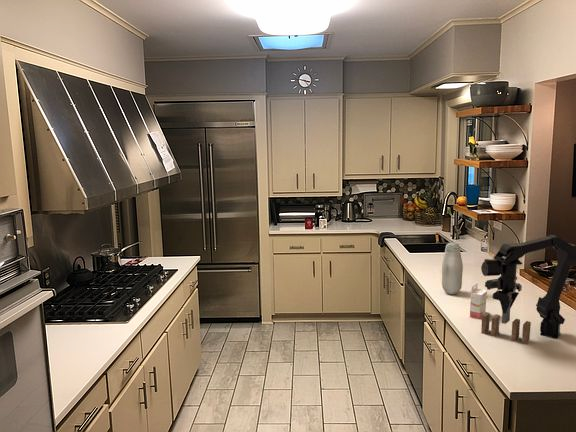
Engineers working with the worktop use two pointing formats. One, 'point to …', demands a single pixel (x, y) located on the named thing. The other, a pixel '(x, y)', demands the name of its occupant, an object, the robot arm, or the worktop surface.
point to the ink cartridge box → (477, 302)
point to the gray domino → (506, 316)
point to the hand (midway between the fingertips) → (506, 311)
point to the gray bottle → (452, 269)
